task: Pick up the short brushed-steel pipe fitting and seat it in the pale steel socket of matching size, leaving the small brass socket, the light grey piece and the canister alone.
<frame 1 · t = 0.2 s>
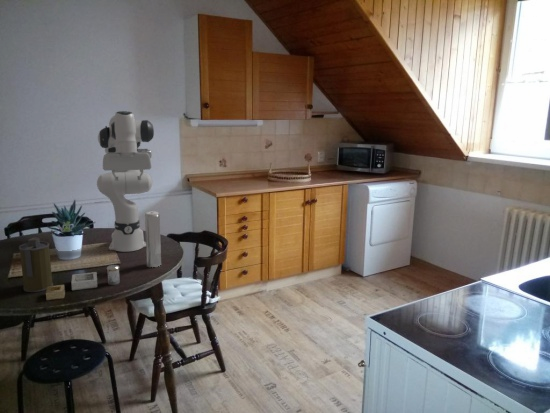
hand: (128, 180, 187), 39 cm above the table, tool pointing down, fingers open, 8 cm apart
light grey piece: (154, 265, 195), on the table
wide socket: (84, 284, 172), on the table
canister: (38, 287, 168), on the table
narrow socket: (56, 295, 161), on the table
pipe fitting: (114, 282, 175), on the table
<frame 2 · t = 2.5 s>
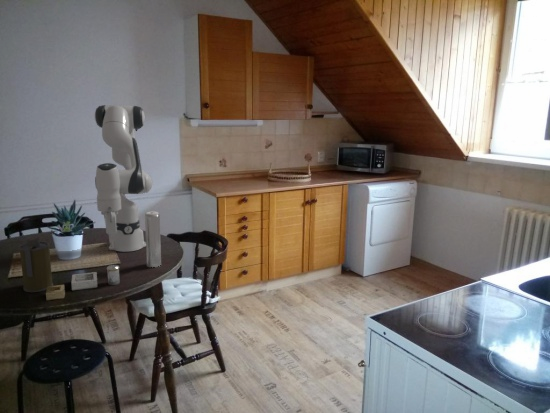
hand: (111, 238, 170), 19 cm above the table, tool pointing down, fingers open, 8 cm apart
nothing on the table moved.
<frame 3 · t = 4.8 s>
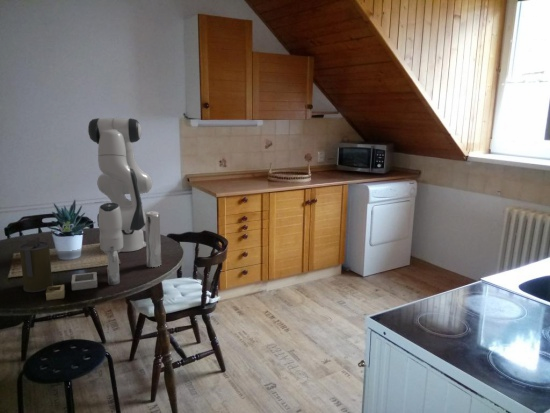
hand: (113, 275, 174), 3 cm above the table, tool pointing down, fingers closed on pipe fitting, 4 cm apart
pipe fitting: (114, 282, 175), on the table, touching gripper
everything else where it was.
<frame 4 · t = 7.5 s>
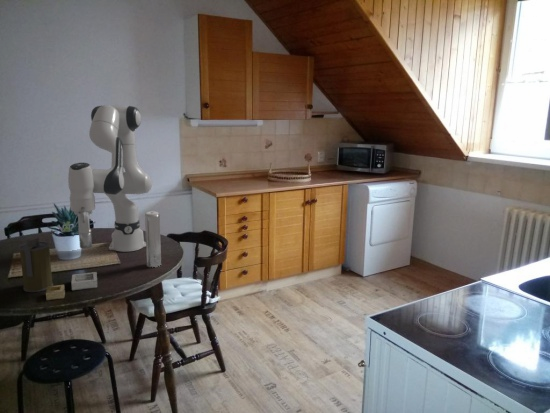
hand: (85, 239, 168), 19 cm above the table, tool pointing down, fingers closed on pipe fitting, 4 cm apart
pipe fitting: (86, 246, 169), point 16 cm above the table, touching gripper
everything else where it was.
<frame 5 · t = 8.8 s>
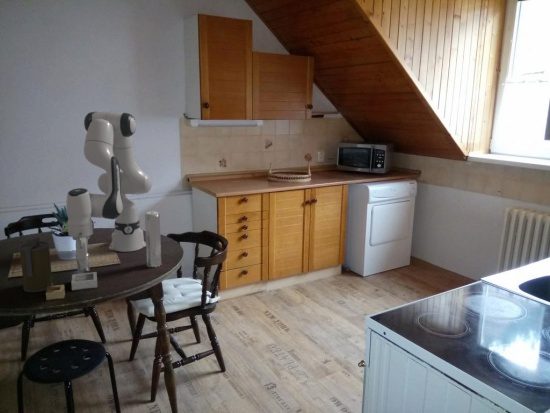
hand: (83, 263, 170), 9 cm above the table, tool pointing down, fingers closed on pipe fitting, 4 cm apart
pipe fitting: (83, 270, 171), point 6 cm above the table, touching gripper
everything else where it was.
when the fingers open (5 cm above the table, at t = 10.0 s): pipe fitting drops 1 cm, resting in wide socket.
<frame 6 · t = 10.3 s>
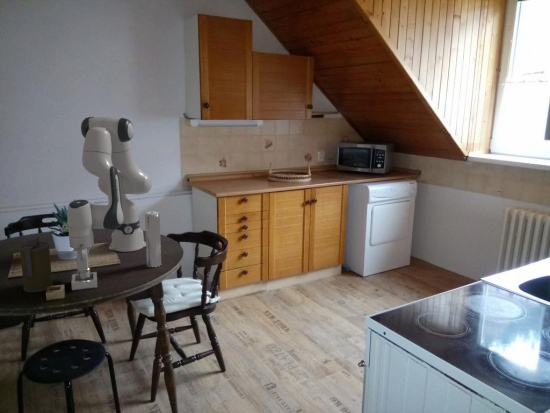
hand: (84, 273, 171), 5 cm above the table, tool pointing down, fingers open, 7 cm apart
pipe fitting: (85, 284, 172), resting in wide socket
everything else where it was.
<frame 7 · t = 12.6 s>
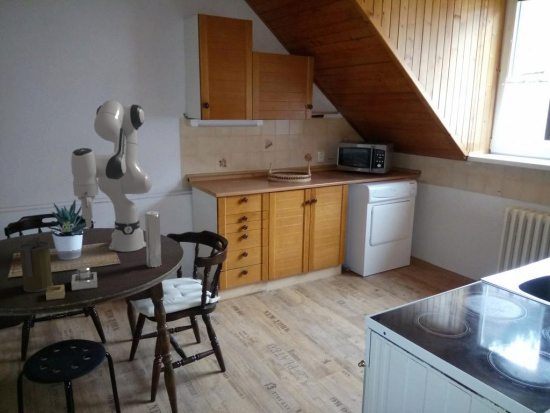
hand: (89, 223, 171), 24 cm above the table, tool pointing down, fingers open, 8 cm apart
nothing on the table moved.
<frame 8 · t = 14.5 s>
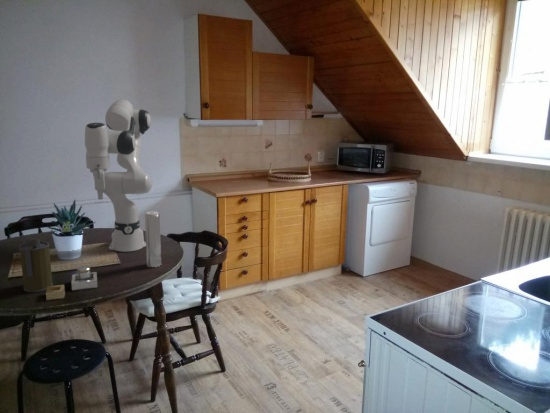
hand: (100, 196, 176), 34 cm above the table, tool pointing down, fingers open, 8 cm apart
nothing on the table moved.
at the end: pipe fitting 0.1 cm off-centre on the wide socket, point 0.0 cm above the wide socket's base; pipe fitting tilted 0°; the gripper is holding nothing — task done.
